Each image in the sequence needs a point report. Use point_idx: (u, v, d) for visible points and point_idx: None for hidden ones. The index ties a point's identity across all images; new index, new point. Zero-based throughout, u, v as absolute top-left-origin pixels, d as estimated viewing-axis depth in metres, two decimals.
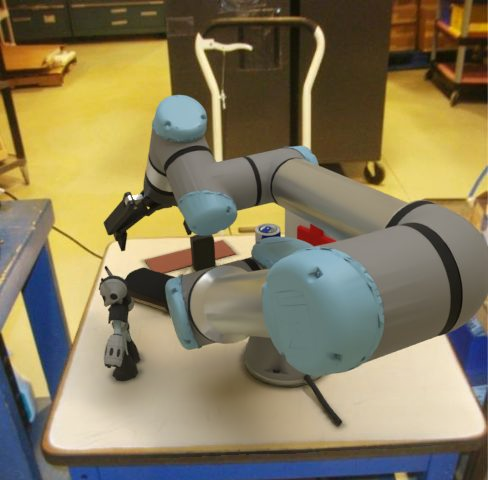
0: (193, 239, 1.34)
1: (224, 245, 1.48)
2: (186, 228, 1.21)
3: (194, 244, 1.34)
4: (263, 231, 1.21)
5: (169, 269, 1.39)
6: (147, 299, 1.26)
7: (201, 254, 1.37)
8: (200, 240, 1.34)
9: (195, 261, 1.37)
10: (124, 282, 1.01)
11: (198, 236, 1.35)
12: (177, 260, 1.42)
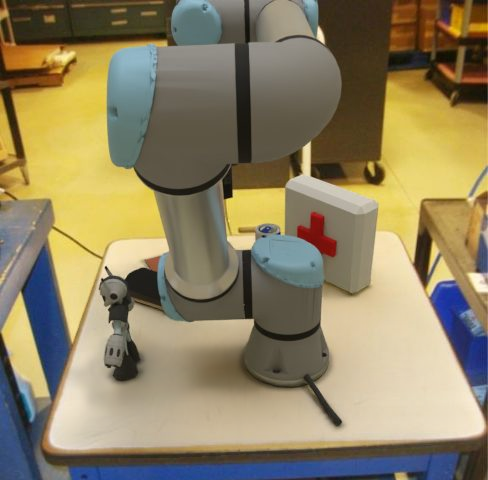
0: None
1: None
2: None
3: None
4: (263, 231, 1.21)
5: None
6: (147, 299, 1.26)
7: None
8: None
9: None
10: (124, 282, 1.01)
11: None
12: None
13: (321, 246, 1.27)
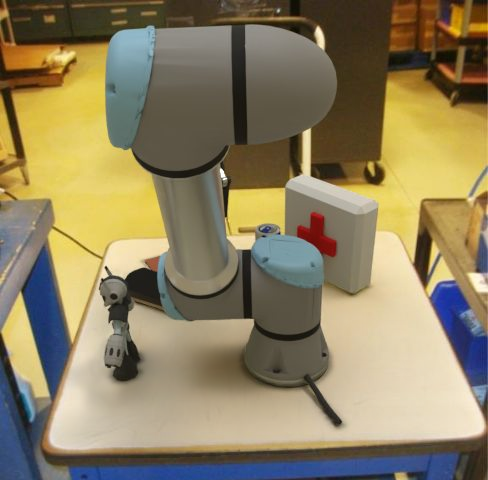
0: None
1: None
2: None
3: None
4: (263, 231, 1.21)
5: None
6: (147, 299, 1.26)
7: None
8: None
9: None
10: (124, 282, 1.01)
11: None
12: None
13: (321, 246, 1.27)
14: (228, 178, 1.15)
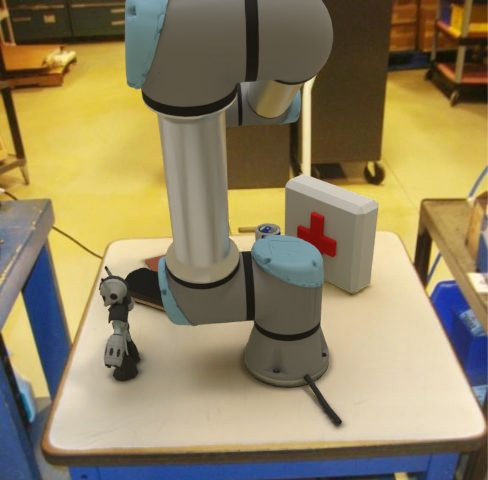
0: None
1: None
2: None
3: None
4: (263, 231, 1.21)
5: None
6: (147, 299, 1.26)
7: None
8: None
9: None
10: (124, 282, 1.01)
11: None
12: None
13: (321, 246, 1.27)
14: None
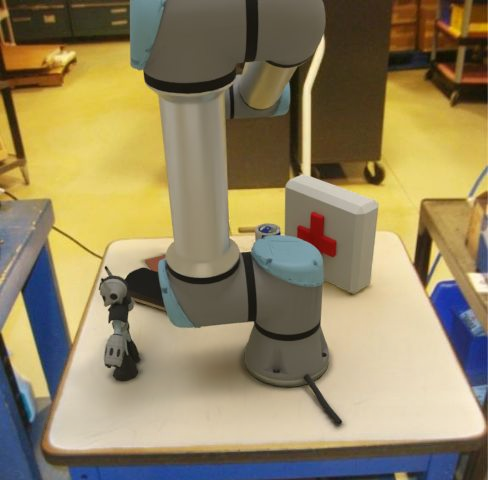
0: None
1: None
2: None
3: None
4: (263, 231, 1.21)
5: None
6: (147, 299, 1.26)
7: None
8: None
9: None
10: (124, 282, 1.01)
11: None
12: None
13: (321, 246, 1.27)
14: None
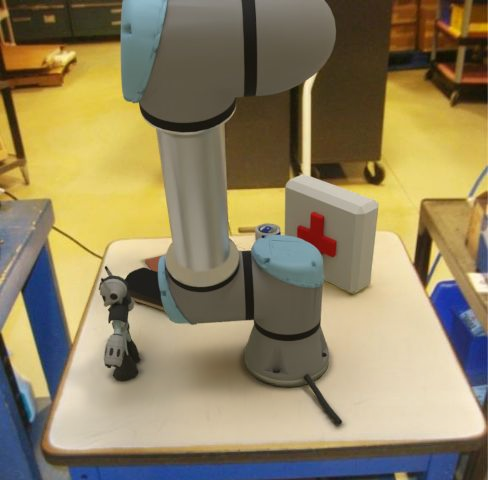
0: None
1: None
2: None
3: None
4: (263, 231, 1.21)
5: None
6: (147, 299, 1.26)
7: None
8: None
9: None
10: (124, 282, 1.01)
11: None
12: None
13: (321, 246, 1.27)
14: None
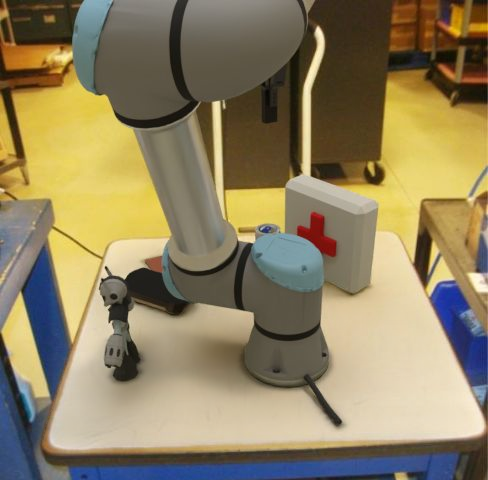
0: None
1: None
2: None
3: None
4: (263, 231, 1.21)
5: None
6: (147, 299, 1.26)
7: None
8: None
9: None
10: (124, 282, 1.01)
11: None
12: None
13: (321, 246, 1.27)
14: None
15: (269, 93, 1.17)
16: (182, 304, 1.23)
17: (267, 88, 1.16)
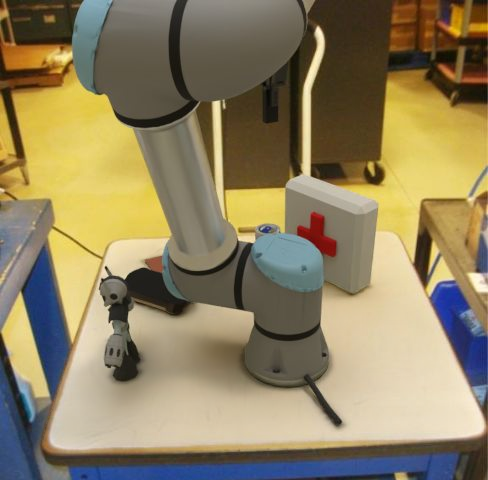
0: None
1: None
2: None
3: None
4: (263, 231, 1.21)
5: None
6: (147, 299, 1.26)
7: None
8: None
9: None
10: (124, 282, 1.01)
11: None
12: None
13: (321, 246, 1.27)
14: None
15: (270, 93, 1.17)
16: (182, 304, 1.23)
17: (268, 88, 1.16)
